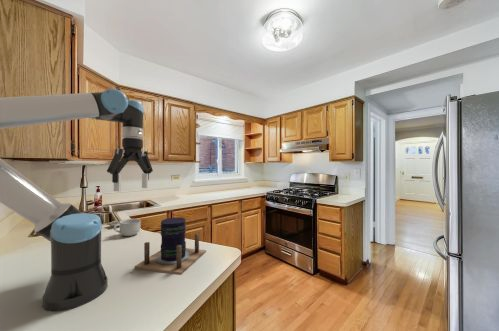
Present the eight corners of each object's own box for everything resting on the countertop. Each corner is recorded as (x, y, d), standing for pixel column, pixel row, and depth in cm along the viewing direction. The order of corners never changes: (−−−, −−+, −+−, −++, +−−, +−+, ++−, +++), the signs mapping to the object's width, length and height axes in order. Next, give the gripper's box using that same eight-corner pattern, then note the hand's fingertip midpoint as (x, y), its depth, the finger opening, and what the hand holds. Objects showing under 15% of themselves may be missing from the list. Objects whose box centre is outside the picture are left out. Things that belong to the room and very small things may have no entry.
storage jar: (165, 264, 79) (165, 225, 79) (157, 255, 86) (157, 220, 86) (189, 256, 85) (189, 220, 85) (180, 249, 93) (180, 216, 93)
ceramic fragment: (109, 225, 130) (106, 220, 138) (109, 230, 131) (106, 224, 138) (128, 222, 138) (124, 218, 145) (128, 227, 138) (124, 222, 145)
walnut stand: (181, 276, 73) (181, 249, 74) (134, 270, 78) (134, 245, 78) (206, 253, 93) (206, 232, 93) (167, 249, 98) (167, 229, 98)
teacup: (137, 230, 127) (137, 217, 127) (143, 234, 119) (143, 220, 119) (110, 235, 117) (110, 221, 117) (115, 240, 109) (115, 225, 109)
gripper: (111, 133, 73) (110, 193, 72) (161, 142, 97) (160, 187, 96) (96, 134, 75) (95, 192, 75) (148, 142, 99) (147, 186, 98)
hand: (132, 189), depth 85 cm, fingers open, 13 cm apart
